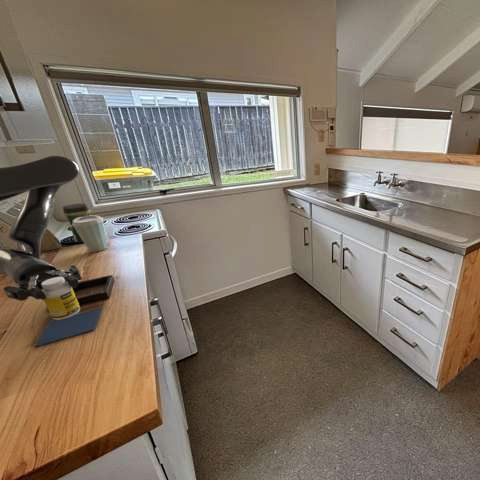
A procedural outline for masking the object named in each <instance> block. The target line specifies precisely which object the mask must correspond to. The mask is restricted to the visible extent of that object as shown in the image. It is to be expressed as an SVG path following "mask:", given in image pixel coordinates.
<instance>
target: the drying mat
mask: <svg viewBox="0 0 480 480" xmlns="http://www.w3.org/2000/svg"><path fill="white" fill-rule="evenodd" d="M102 310H103V308H102V307H99V308H95V309H90V310H87V311H82V312H78V313H77V314H75V315H73V316H71V317H69V318H66V319H61V320H55V319H52V320H49V322H48V324H47V325H46V327H45V328H44V330H43V332H42V333H41V335H40V337H39V338H38V340H37V342H36V343H35V345H34V348H38V347H41V346H45V345H48V344H52V343H55V342H59V341H62V340H63V341H64V340H66V339H69V338H73V337H76V336H79V335H83V334H86V333H91V332H93V331H95V330H96V327H97V326H98V325H97V324H98V322H99V318H100V315H101V312H102Z"/></svg>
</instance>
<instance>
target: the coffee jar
mask: <svg viewBox="0 0 480 480" xmlns="http://www.w3.org/2000/svg"><path fill="white" fill-rule="evenodd" d="M62 210H63V215H64V217H65V218H67V221H68V222H69V226H70V228H71V233H72V237H73V239H74V242H75V243H76V244H77V243H78V244H82V243H84V242H83V240H82V239H81V237H80V236H79V234H78V233H77V231H76V230H75V228H74V227H73V226H72V223H73V220H74V219H76V218H79V217H84V216H90V215H91V210H90V207H89V206H88V204H87V203H85V202H80V203H71V204H66V205H63V206H62Z"/></svg>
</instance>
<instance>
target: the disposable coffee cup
mask: <svg viewBox="0 0 480 480" xmlns="http://www.w3.org/2000/svg"><path fill="white" fill-rule="evenodd" d="M104 224H105V223H104V218H103V217H101V216H100V215H97V214H96V215H95V214H90V216H84V217H79V218H76V219H74V220H73V223H72V226H73V227H74V228H75V230H76V231H77V233H78V234H79V236H80V237H81V239H82V240H83V242H82V243H83V244H84V245H85V247H86V248H87V250H88V251H89V252H92V253H94V252H101V251H103V250H106V249H107V248H108V240H107V235H106V229H105V225H104Z"/></svg>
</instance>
